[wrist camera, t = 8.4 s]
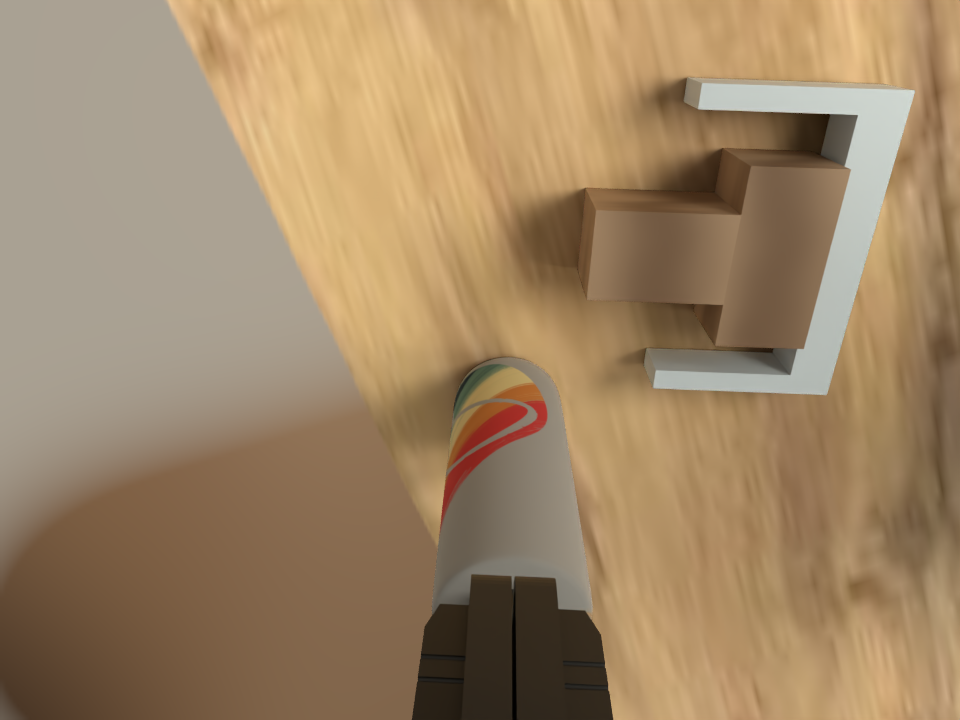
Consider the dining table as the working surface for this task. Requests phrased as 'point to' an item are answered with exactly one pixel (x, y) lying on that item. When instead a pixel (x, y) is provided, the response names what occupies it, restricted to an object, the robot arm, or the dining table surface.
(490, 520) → the lotion bottle
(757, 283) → the t block
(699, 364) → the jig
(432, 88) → the dining table surface
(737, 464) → the dining table surface
